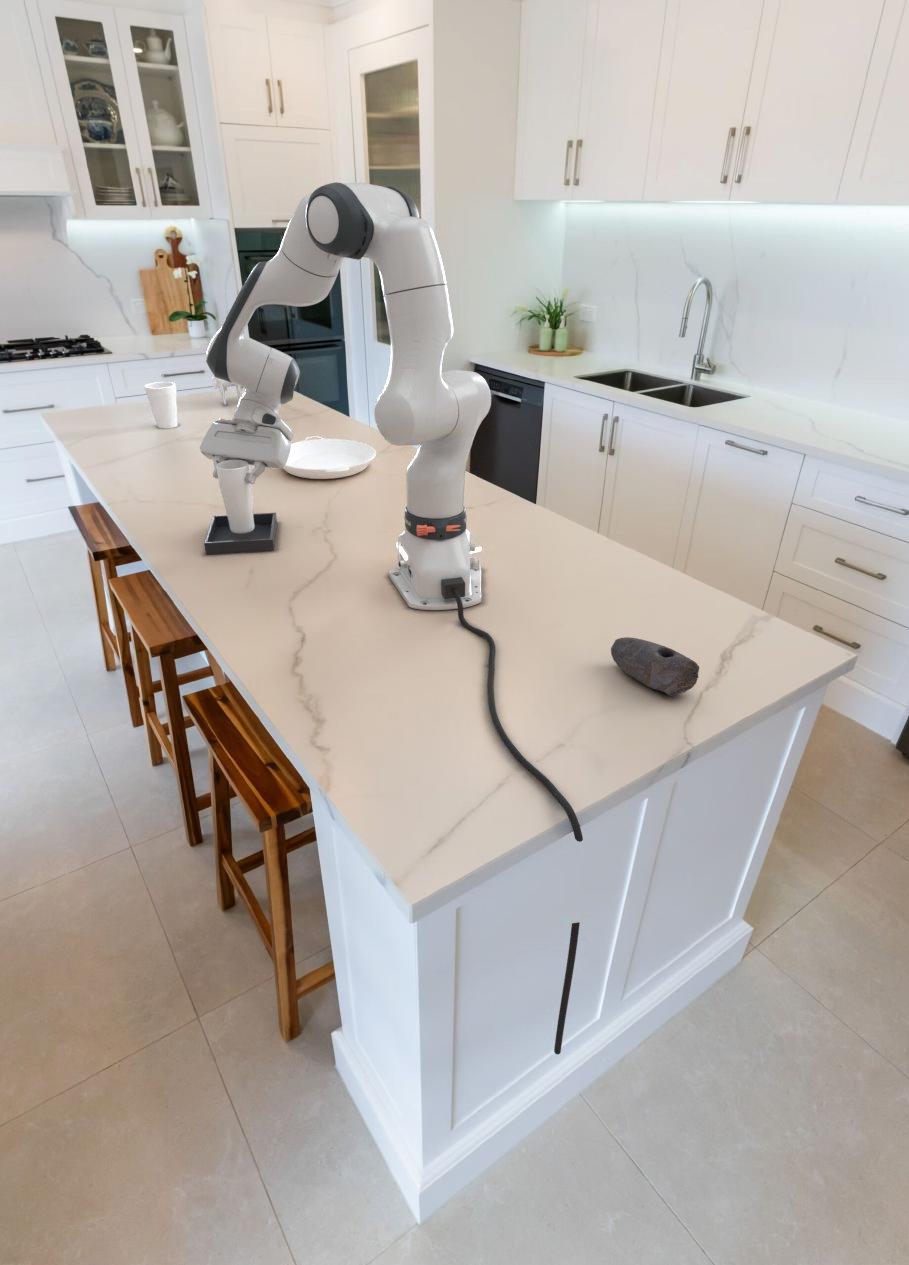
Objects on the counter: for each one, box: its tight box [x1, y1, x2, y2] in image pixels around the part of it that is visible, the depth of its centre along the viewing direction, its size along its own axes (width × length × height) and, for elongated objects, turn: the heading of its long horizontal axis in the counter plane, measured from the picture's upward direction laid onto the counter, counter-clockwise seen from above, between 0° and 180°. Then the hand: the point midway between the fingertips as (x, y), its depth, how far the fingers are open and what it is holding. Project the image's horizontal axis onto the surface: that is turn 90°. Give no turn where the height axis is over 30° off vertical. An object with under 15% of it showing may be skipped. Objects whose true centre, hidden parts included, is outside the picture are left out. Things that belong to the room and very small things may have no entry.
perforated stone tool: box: [610, 636, 700, 697], centre depth 116 cm, size 15×5×7 cm, turn 40°
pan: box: [282, 435, 377, 480], centre depth 207 cm, size 34×28×4 cm
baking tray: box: [203, 512, 278, 556], centre depth 164 cm, size 16×14×3 cm
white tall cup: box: [216, 460, 255, 534], centre depth 159 cm, size 7×7×15 cm
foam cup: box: [144, 381, 178, 429], centre depth 239 cm, size 10×9×13 cm
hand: (233, 480), depth 157 cm, fingers closed on white tall cup, 7 cm apart
